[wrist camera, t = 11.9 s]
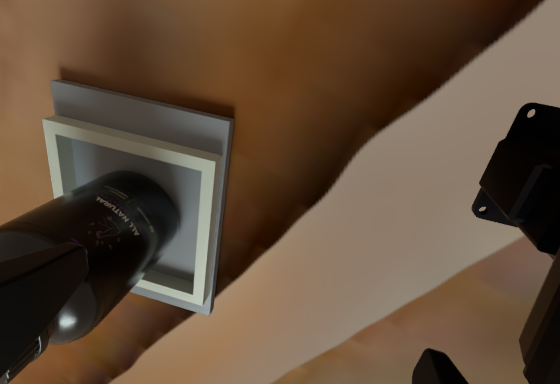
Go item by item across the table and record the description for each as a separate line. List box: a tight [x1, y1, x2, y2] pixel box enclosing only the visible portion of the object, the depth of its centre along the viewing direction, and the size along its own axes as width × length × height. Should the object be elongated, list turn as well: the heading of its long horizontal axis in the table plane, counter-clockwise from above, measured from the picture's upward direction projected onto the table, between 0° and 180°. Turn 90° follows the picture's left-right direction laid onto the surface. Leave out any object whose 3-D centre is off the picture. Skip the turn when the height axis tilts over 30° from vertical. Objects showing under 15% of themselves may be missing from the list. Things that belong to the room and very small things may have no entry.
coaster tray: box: [42, 79, 234, 316], centre depth 23 cm, size 12×16×2 cm
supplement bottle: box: [0, 170, 179, 384], centre depth 18 cm, size 7×7×12 cm
